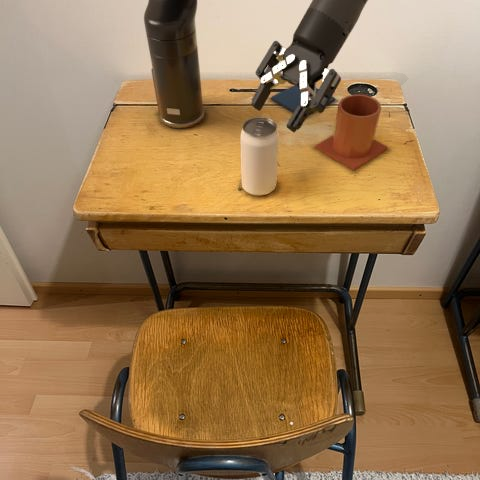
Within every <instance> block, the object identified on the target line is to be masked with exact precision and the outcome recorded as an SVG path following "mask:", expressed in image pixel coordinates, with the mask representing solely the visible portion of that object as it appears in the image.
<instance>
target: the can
mask: <svg viewBox="0 0 480 480" xmlns="http://www.w3.org/2000/svg"><path fill="white" fill-rule="evenodd" d="M277 128H278V126H277V123H276V121H274V120H273V119H272V118H269V117H265V116H255V117H251V118H249V119H246V120H245V121H244V123H243V124H242V130H241V132H240V137H239V138H240V139H239V140H240V177H241V187H242V189H243V190H244V191H245V192H246V193H247V194H250V195H251V196H255V197H259V196H266V195H268V194H270V193H272V192H274V190H275V189H276V187H277V181H278V180H277V177H278V162H279V161H278V159H279V141H280V140H279V138H280V137H279V136H280V135H279V131H278V129H277Z"/></svg>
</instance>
